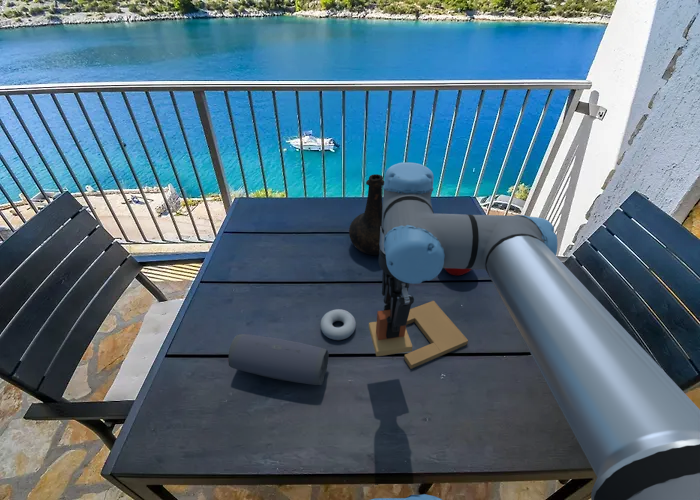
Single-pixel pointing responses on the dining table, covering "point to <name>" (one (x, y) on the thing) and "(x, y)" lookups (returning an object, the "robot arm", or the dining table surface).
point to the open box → (390, 344)
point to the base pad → (433, 334)
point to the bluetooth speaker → (278, 358)
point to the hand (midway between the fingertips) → (390, 330)
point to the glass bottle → (369, 219)
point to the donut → (341, 331)
